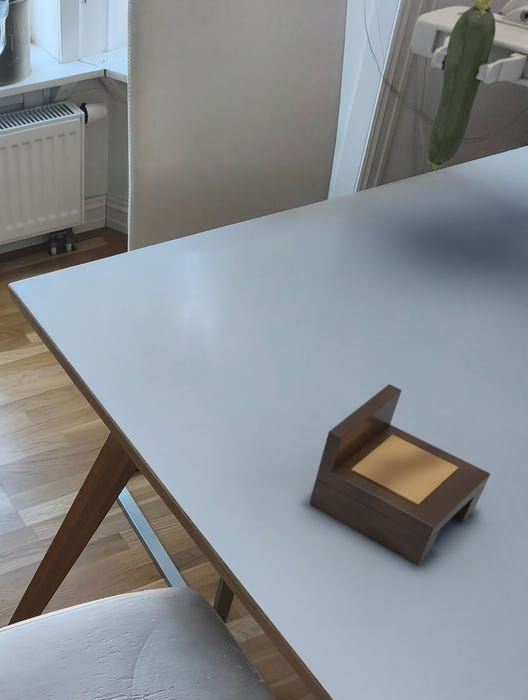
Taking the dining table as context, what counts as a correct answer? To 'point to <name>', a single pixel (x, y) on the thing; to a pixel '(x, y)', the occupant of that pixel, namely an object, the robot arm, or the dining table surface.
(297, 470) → the dining table surface
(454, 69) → the vegetable
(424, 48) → the robot arm
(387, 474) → the wooden toy chair
